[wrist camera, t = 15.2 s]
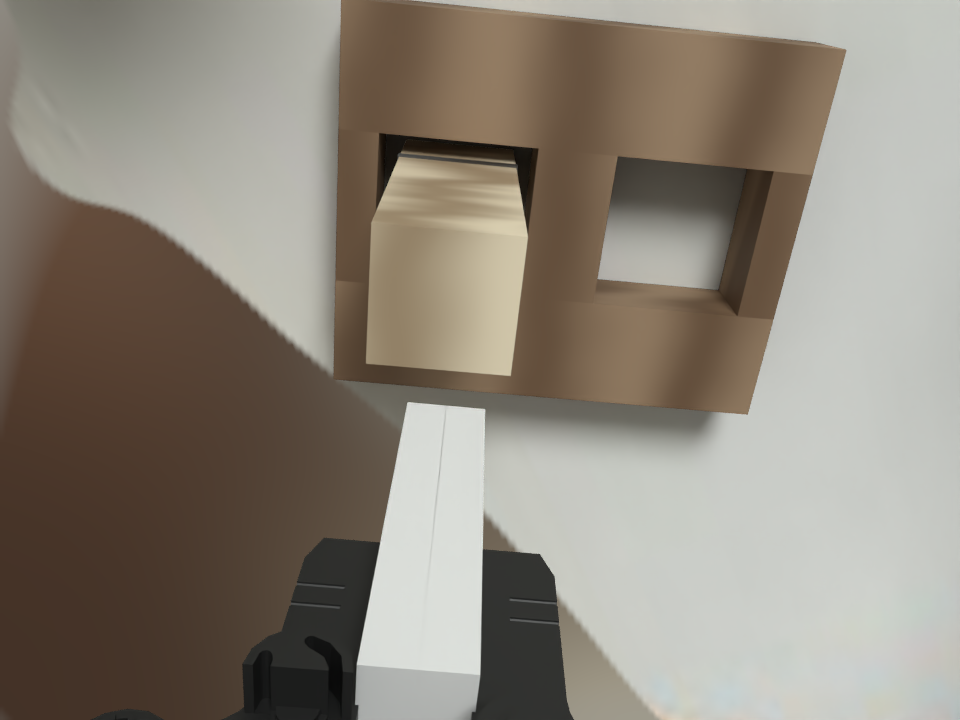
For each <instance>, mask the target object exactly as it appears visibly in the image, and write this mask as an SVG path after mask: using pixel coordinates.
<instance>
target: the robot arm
mask: <svg viewBox="0 0 960 720" xmlns="http://www.w3.org/2000/svg"><path fill="white" fill-rule="evenodd" d="M484 445H485V409H478V408H467V407H456V406H445V405H434V404H423V403H412V402H408V403H407V408H406V413H405V418H404V423H403V428H402V434H401V439H400V444H399V449H398V454H397V459H396V465H395V471H394V475H393V480H392V485H391V490H390V496H389V501H388V506H387V511H386V516H385V521H384V527H383V532H382V538H381V542H380V543H379V542H366V541H355V540H344V539H332V538H324V539H323V540H322V541H321V542H320V543H319V544H318V545H317V546H316V547H315V548H314V549H313V550H312V551H311V552H310V553H309V554H308V555H307V556H306V557H305V559H304V562H303V565H302V569H301V571H300V574H299V577H298V581H297V586H296V587H295V590H294V593H293V597H292V600H291V606H289V609H288V612H287V616H286V619H285V622H284V625H283V629H282V631H281V632H279V633H276V634H273V635H270V636H268V637H267V638H265V639H264V640H263V641H262V642H260V643H259V644H257V645H256V646H255V647H253V648H252V649H251V651H250V653H249V654H248V656H247V657H246V659H245V661H244V662H243V689H244V708H242V709H241V710H240V711H238V712H236V713H234V714H232V715H230V716H229V717H227V718H225V719H222V720H574V719H573V717H572V715H571V714H570V711H569V707H568V703H567V698H566V689H565V678H564V668H563V658H562V648H561V638H560V629H559V617H558V607H557V597H556V587H555V577H554V575H553V574H552V572H551V571H550V569H549V568H548V566H547V565H546V563H545V561H544V560H543V558H542V557H541V555H540V554H531V553H520V552H508V551H496V550H483V500H484ZM92 720H163V719H162V718H160V717H158V716H156V715H154V714H152V713H151V712H149V711H142V710H133V709H124V710H120V711H114V712H109V713H104V714H102V715H100V716H98V717H96V718H94V719H92Z"/></svg>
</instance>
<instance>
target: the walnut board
mask: <svg viewBox="0 0 960 720" xmlns="http://www.w3.org/2000/svg"><path fill="white" fill-rule="evenodd" d="M845 54H846V50H845V49H841V48H837V47H832V46H828V45H824V44H820V43H816V42H806V41H797V40H787V39H777V38H768V37H758V36H748V35H739V34H729V33H719V32H710V31H700V30H690V29H681V28H671V27H661V26H652V25H642V24H632V23H623V22H613V21H604V20H594V19H584V18H575V17H565V16H555V15H546V14H536V13H526V12H517V11H507V10H497V9H488V8H478V7H468V6H459V5H449V4H439V3H430V2H420V1H411V0H341V35H340V85H339V134H338V183H337V232H336V281H335V331H334V379H336V380H348V381H359V382H371V383H383V384H395V385H406V386H418V387H430V388H442V389H453V390H465V391H477V392H489V393H501V394H512V395H524V396H536V397H548V398H559V399H571V400H583V401H595V402H607V403H618V404H630V405H642V406H654V407H665V408H677V409H689V410H701V411H712V412H724V413H736V414H748V411H749V408H750V404H751V400H752V397H753V393H754V389H755V385H756V382H757V378H758V374H759V371H760V367H761V363H762V360H763V356H764V352H765V349H766V345H767V341H768V338H769V334H770V330H771V326H772V323H773V319H774V315H775V312H776V308H777V304H778V301H779V297H780V293H781V290H782V286H783V282H784V279H785V275H786V271H787V267H788V264H789V260H790V256H791V253H792V249H793V245H794V242H795V238H796V234H797V231H798V227H799V223H800V220H801V216H802V212H803V208H804V205H805V201H806V197H807V194H808V190H809V186H810V183H811V179H812V175H813V172H814V168H815V164H816V161H817V157H818V153H819V149H820V146H821V142H822V138H823V135H824V131H825V127H826V124H827V120H828V116H829V113H830V109H831V105H832V102H833V98H834V94H835V90H836V87H837V83H838V79H839V76H840V72H841V68H842V65H843V61H844V57H845ZM387 134H394V135H404V136H415V137H425V138H435V139H446V140H456V141H466V142H477V143H487V144H497V145H508V146H518V147H528V148H532V155H531V164H530V172H529V180H528V188H527V197H526V205H525V213H524V216H525V222H526V228H527V234H528V241H527V249H526V257H525V265H524V273H523V281H522V289H521V297H520V305H519V313H518V321H517V329H516V337H515V345H514V353H513V361H512V369H511V376H505V375H493V374H481V373H470V372H458V371H446V370H435V369H423V368H411V367H400V366H388V365H376V364H366V348H367V322H368V296H369V270H370V245H371V222H372V220H373V217H374V215H375V213H376V210H377V208H378V206H379V203H380V201H381V198H382V196H383V194H384V179H385V157H386V135H387ZM618 156H621V157H631V158H641V159H652V160H662V161H672V162H683V163H693V164H703V165H714V166H724V167H734V168H745V169H747V172H746V177H745V181H744V185H743V189H742V194H741V198H740V202H739V206H738V211H737V215H736V219H735V223H734V227H733V232H732V236H731V240H730V244H729V249H728V253H727V257H726V261H725V266H724V270H723V274H722V278H721V283H720V287H719V290H709V289H698V288H687V287H676V286H665V285H654V284H643V283H632V282H621V281H610V280H599V279H597V278H598V272H599V266H600V260H601V254H602V248H603V242H604V236H605V230H606V224H607V218H608V212H609V206H610V200H611V194H612V188H613V182H614V176H615V170H616V164H617V158H618Z"/></svg>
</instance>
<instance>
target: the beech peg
mask: <svg viewBox="0 0 960 720" xmlns="http://www.w3.org/2000/svg"><path fill="white" fill-rule="evenodd" d="M517 170H518V165H517V164H516V163H515V157H514V151H513V149H503V148H493V147H483V146H472V145H462V144H451V143H441V142H431V141H420V140H410V139H406V142H405V144H404V146H403V149H402V151H401V153H399V154H398V161H397V163H396V165H395V168H394V170H393V172H392V175H391V177H390V180H389V182H388V184H387V187H386V189H385V191H384V194H383V196H382V198H381V201H380V203H379V206H378V208H377V210H376V213H375V215H374V217H373V220H372V222H371V245H370V270H369V296H368V322H367V348H366V364H376V365H388V366H400V367H411V368H423V369H435V370H446V371H458V372H470V373H481V374H493V375H505V376H511V369H512V361H513V353H514V345H515V337H516V329H517V321H518V313H519V305H520V297H521V289H522V281H523V273H524V265H525V257H526V249H527V241H528V234H527V228H526V222H525V216H524V210H523V204H522V199H521V193H520V187H519V181H518V175H517Z"/></svg>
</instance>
